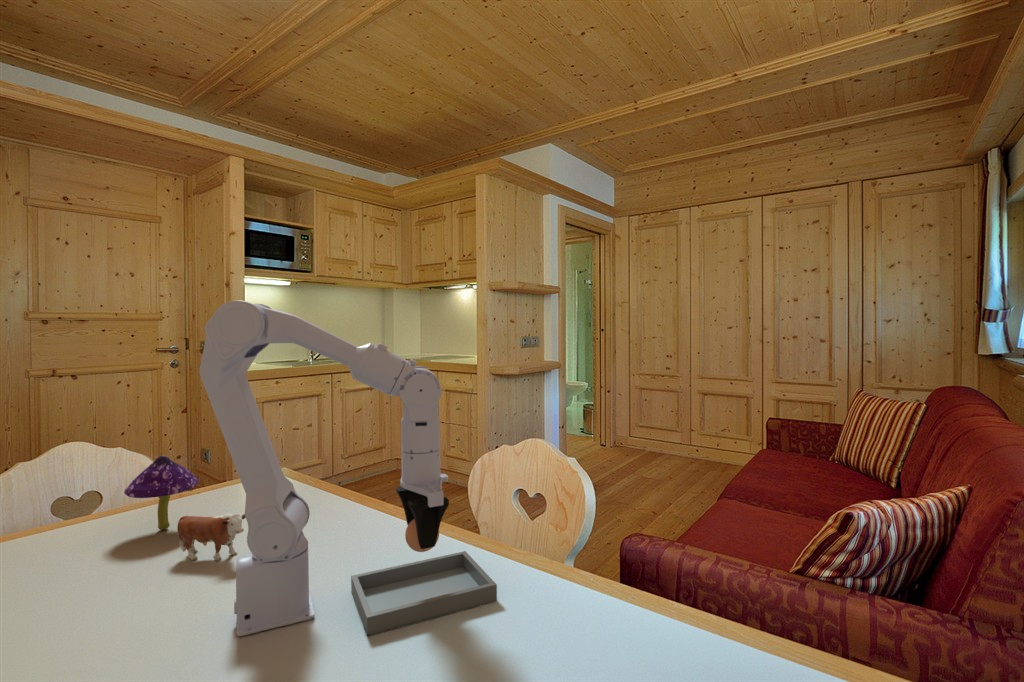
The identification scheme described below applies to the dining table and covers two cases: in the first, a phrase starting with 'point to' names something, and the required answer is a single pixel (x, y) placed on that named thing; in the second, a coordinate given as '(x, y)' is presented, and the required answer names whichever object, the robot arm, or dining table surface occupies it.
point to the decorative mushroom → (161, 485)
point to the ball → (414, 537)
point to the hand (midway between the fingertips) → (422, 539)
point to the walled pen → (420, 591)
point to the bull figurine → (209, 532)
